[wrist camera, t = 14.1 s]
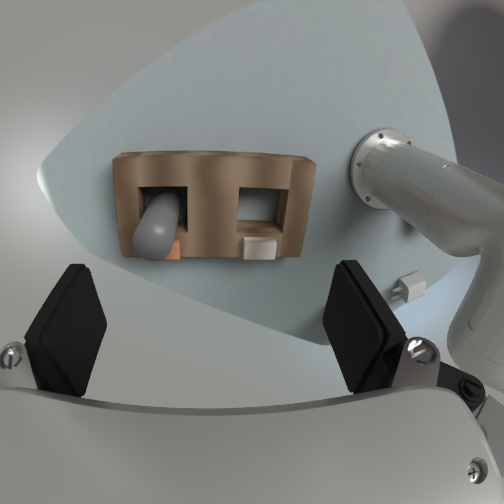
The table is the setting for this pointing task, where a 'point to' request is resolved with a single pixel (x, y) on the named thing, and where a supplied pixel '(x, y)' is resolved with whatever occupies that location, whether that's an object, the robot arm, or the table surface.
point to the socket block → (217, 201)
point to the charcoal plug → (158, 226)
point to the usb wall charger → (410, 287)
